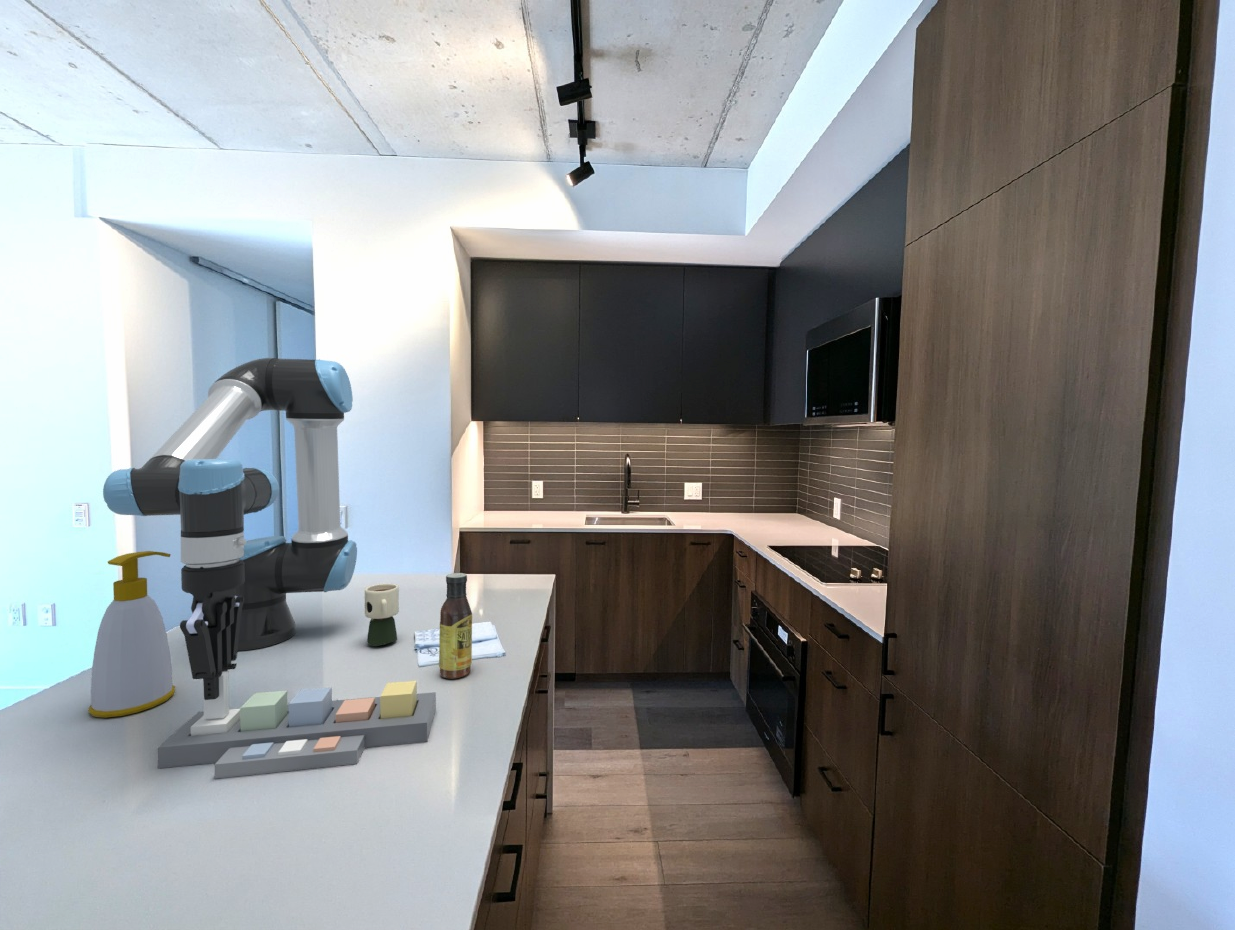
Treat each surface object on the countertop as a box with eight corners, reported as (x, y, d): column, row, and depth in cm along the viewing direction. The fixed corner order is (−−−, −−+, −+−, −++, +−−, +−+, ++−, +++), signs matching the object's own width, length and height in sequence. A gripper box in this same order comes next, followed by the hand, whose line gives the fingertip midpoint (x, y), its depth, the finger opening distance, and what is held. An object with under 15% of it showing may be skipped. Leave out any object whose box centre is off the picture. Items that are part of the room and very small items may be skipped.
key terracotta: (344, 724, 85) (344, 700, 85) (375, 721, 86) (374, 697, 86) (335, 739, 81) (335, 714, 80) (367, 736, 81) (367, 711, 81)
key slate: (300, 714, 84) (300, 689, 83) (332, 711, 85) (331, 687, 84) (288, 729, 79) (288, 703, 79) (322, 726, 80) (321, 701, 80)
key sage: (255, 717, 82) (254, 693, 82) (287, 715, 83) (287, 690, 83) (240, 733, 78) (240, 707, 78) (275, 730, 79) (274, 704, 79)
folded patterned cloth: (494, 627, 132) (494, 619, 132) (506, 659, 113) (506, 649, 113) (413, 636, 125) (413, 628, 125) (412, 671, 106) (412, 661, 106)
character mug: (363, 638, 122) (362, 583, 122) (396, 633, 126) (395, 579, 125) (367, 654, 113) (366, 595, 112) (402, 648, 117) (401, 591, 116)
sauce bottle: (462, 682, 101) (462, 580, 100) (432, 678, 102) (432, 578, 101) (477, 667, 107) (477, 572, 106) (449, 664, 108) (449, 570, 108)
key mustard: (387, 706, 86) (387, 682, 86) (416, 704, 87) (416, 680, 87) (380, 721, 82) (380, 696, 82) (411, 718, 83) (411, 693, 83)
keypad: (199, 730, 83) (198, 711, 83) (435, 709, 91) (435, 692, 90) (138, 786, 69) (137, 764, 69) (422, 756, 77) (422, 736, 77)
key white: (208, 736, 81) (208, 711, 81) (242, 733, 82) (241, 708, 82) (191, 753, 77) (190, 726, 76) (226, 750, 77) (226, 723, 77)
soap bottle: (192, 693, 95) (189, 550, 94) (114, 725, 84) (109, 564, 83) (152, 683, 99) (148, 546, 98) (72, 712, 88) (67, 558, 87)
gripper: (218, 571, 72) (221, 737, 73) (261, 552, 85) (264, 693, 86) (155, 573, 71) (160, 742, 72) (209, 553, 84) (212, 697, 85)
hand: (216, 715), depth 79 cm, fingers closed
